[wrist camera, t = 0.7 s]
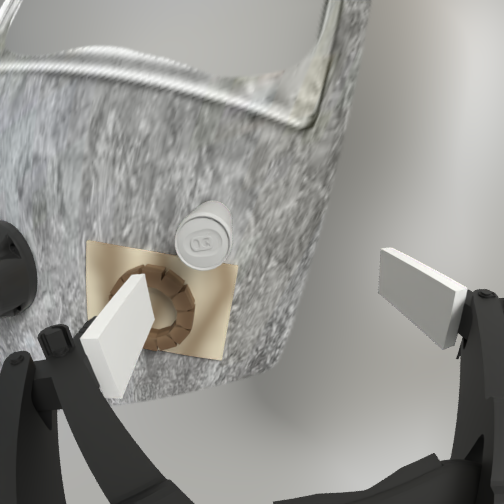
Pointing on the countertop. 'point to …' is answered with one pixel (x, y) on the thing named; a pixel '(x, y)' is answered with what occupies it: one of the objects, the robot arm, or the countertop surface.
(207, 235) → the beverage can
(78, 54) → the countertop surface
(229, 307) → the collar board
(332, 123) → the countertop surface
